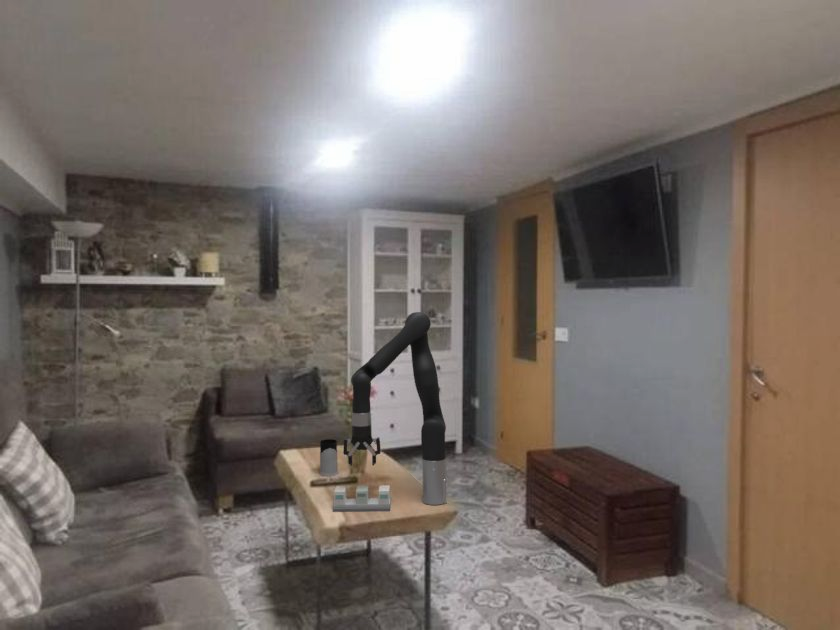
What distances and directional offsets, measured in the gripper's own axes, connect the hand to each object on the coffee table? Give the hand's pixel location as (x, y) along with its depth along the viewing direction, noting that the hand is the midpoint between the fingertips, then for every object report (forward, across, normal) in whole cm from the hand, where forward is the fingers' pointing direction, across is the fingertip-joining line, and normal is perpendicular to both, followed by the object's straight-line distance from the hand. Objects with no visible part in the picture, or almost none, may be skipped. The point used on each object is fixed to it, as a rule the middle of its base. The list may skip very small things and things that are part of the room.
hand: (362, 465), depth 231 cm
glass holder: (+16, +20, -46) cm, 53 cm away
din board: (+16, 0, 0) cm, 16 cm away
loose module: (+14, 0, 0) cm, 14 cm away
